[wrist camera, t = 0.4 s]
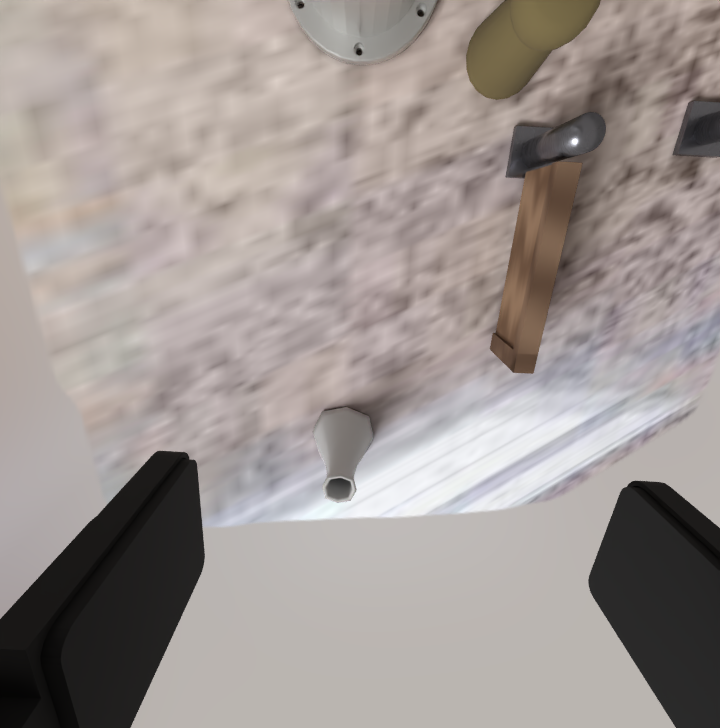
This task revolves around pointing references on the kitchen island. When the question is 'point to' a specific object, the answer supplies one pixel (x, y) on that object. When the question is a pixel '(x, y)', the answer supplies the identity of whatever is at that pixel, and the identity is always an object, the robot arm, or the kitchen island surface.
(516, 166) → the grey upright posts
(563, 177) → the brown wooden plank
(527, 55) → the olive rounded lobed piece
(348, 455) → the flask
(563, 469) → the kitchen island surface
